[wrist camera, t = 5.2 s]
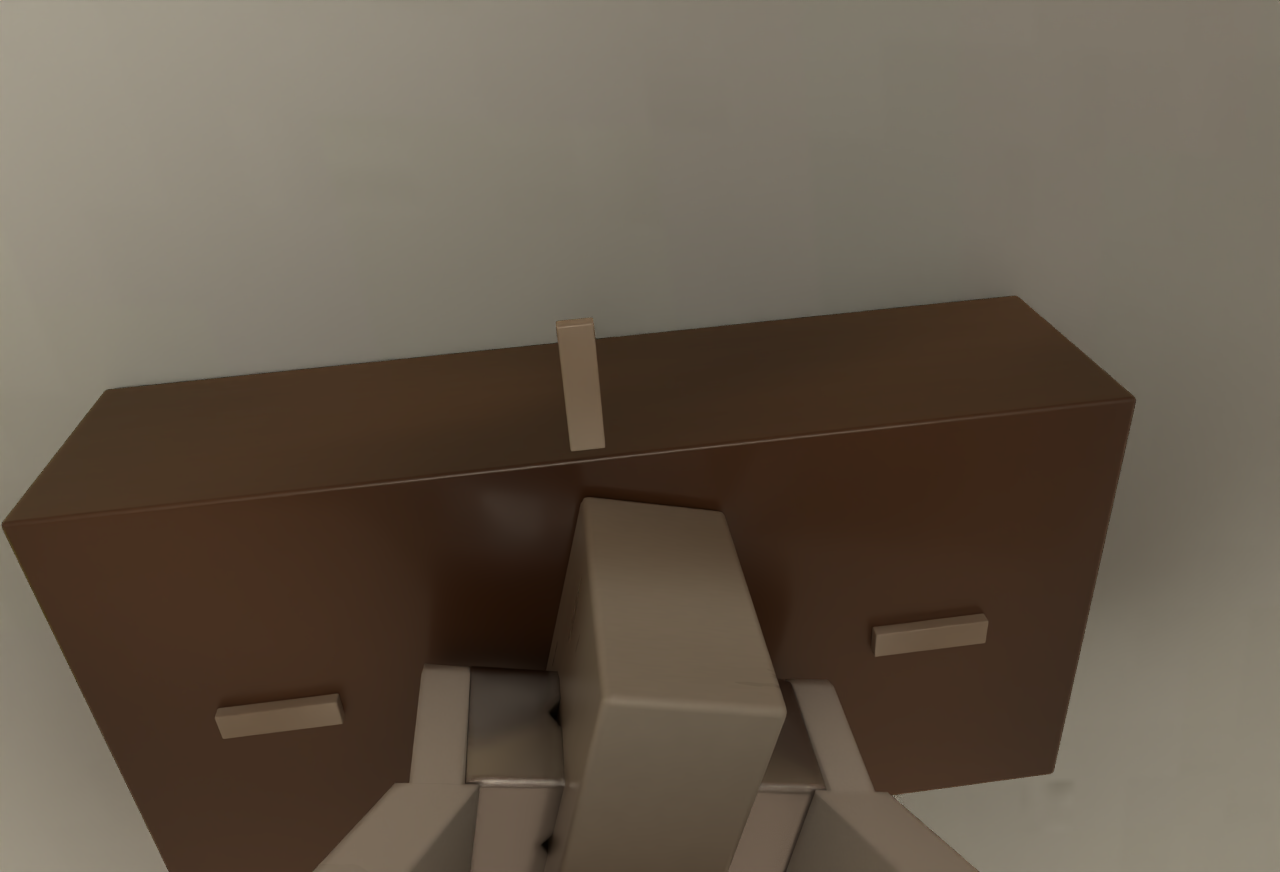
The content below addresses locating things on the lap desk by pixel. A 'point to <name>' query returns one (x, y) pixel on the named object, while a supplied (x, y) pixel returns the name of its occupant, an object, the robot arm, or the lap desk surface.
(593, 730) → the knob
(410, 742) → the panel
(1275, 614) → the lap desk surface
